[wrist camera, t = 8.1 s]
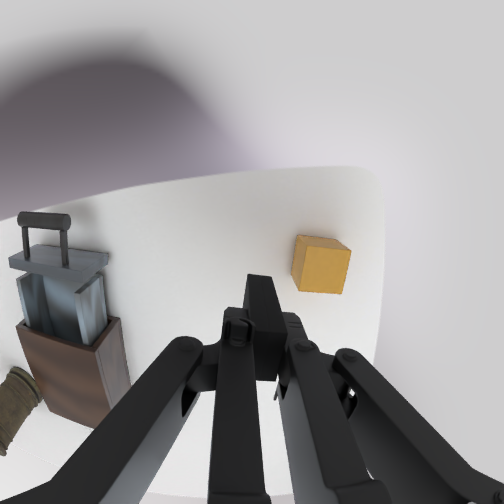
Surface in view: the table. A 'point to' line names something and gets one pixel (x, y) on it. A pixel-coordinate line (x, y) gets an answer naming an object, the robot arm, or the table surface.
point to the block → (320, 265)
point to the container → (16, 404)
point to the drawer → (60, 283)
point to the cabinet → (78, 372)
